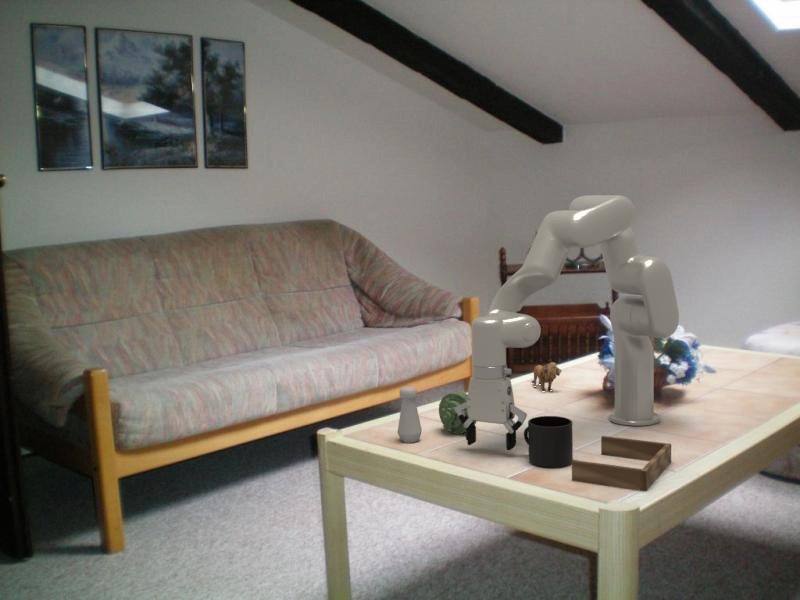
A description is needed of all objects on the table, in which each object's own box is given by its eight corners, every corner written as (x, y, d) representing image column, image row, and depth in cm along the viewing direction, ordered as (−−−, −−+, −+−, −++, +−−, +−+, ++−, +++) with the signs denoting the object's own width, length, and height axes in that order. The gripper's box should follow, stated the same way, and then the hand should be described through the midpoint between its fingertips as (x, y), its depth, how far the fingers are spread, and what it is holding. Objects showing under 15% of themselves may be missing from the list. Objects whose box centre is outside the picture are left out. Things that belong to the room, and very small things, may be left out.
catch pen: (602, 453, 193) (602, 435, 193) (671, 461, 186) (671, 443, 185) (571, 480, 176) (571, 461, 176) (645, 491, 169) (645, 471, 168)
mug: (537, 450, 197) (537, 411, 196) (581, 461, 189) (581, 420, 187) (510, 459, 191) (510, 419, 190) (554, 471, 182) (554, 429, 181)
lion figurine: (563, 393, 250) (563, 362, 249) (547, 395, 249) (547, 364, 248) (538, 383, 264) (538, 354, 263) (523, 385, 262) (522, 356, 261)
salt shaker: (394, 439, 210) (392, 386, 209) (415, 435, 212) (414, 383, 211) (404, 445, 205) (402, 391, 203) (426, 441, 207) (424, 388, 205)
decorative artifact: (478, 434, 212) (477, 394, 211) (461, 440, 207) (459, 399, 206) (445, 427, 219) (444, 389, 217) (428, 434, 213) (427, 394, 212)
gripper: (531, 371, 193) (533, 446, 195) (462, 366, 202) (464, 437, 204) (518, 378, 187) (519, 455, 189) (447, 372, 196) (449, 446, 198)
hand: (491, 446), depth 196 cm, fingers open, 9 cm apart
